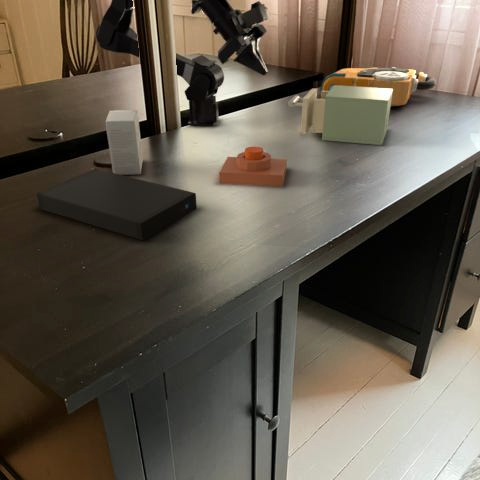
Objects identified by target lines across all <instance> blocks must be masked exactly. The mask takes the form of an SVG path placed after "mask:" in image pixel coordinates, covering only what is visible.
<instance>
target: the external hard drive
mask: <svg viewBox="0 0 480 480" xmlns="http://www.w3.org/2000/svg"><path fill="white" fill-rule="evenodd" d="M36 198H37V202H38V206H39V210H42V211H46V212H49V213H52V214H55V215H58V216H61V217H63V218H68V219H70V220H75V221H78V222H81V223H84V224H87V225H91V226H94V227H97V228H99V229H103V230H107V231H110V232H114V233H117V234H120V235H124V236H126V237H130V238H132V239H137V240H139V241H143V242H144V241H146V240H148V239H149V238H151V237H152V236H155V235H156V234H158V233H159V232H161V231H162V230H164V229H166V228H168V227H169V226H171V225H173V224H174V223H176V222H178V221H180V220H181V219H183V218H184V217H186V216H188V215H189V214H191V213H193V212H194V211H196V210H197V209H198V207H197V193H196V192H193V191H188V190H184V189H180V188H176V187H172V186H168V185H165V184H160V183H157V182H151V181H147V180H144V179H140V178H136V177H131V176H128V175H119V174H115V173H113V172H111V171H106V170H102V169H98V168H94V169H91V170H89V171H87V172H84V173H82V174H79V175H77V176H74V177H72V178H70V179H68V180H65V181H62V182H60V183H57V184H55V185H53V186H50V187H48V188H46V189H44V190H41V191H38V192H37V193H36Z"/></svg>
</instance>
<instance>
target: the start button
mask: <svg viewBox="0 0 480 480" xmlns="http://www.w3.org/2000/svg"><path fill="white" fill-rule="evenodd" d="M244 152H245V159H248V160H260V159H263V155H264V152H265V150H264V148H263V147H261V146H248V147H245V148H244Z"/></svg>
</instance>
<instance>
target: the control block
mask: <svg viewBox="0 0 480 480" xmlns="http://www.w3.org/2000/svg"><path fill="white" fill-rule="evenodd" d="M287 166H288V159H287V158H272V155H271V153H269V152H265V151H264V155H263V159H260V160H248V159H245V151H242V152H240V153H238V154H237V156H227V157H226V159H225V161H224V163H223V165H222V166H221V168H220V170H219V173H218V175H219V184H228V185H246V186H247V185H248V186H266V187H267V186H268V187H283V186H284V181H285V177H286V173H287Z"/></svg>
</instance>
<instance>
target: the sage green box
mask: <svg viewBox="0 0 480 480" xmlns="http://www.w3.org/2000/svg"><path fill="white" fill-rule="evenodd" d="M392 92H393V89H389V88H372V87H356V86H339V85H334V87H333V88H332V89H331V90H330V92H329V93H328V94H327V95H326V97H325V109H324V121H323V133H321V134H322V135H321V136H322V137H321V141H328V142H329V141H330V142H339V143H340V142H342V143H349V144H350V143H351V144H362V145H373V146H374V145H375V146H382V145H383V143H384V140H385V137H386V135H387V132H388V125H389V121H390V120H389V119H390V113H391V107H390V106H391V100H392Z"/></svg>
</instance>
